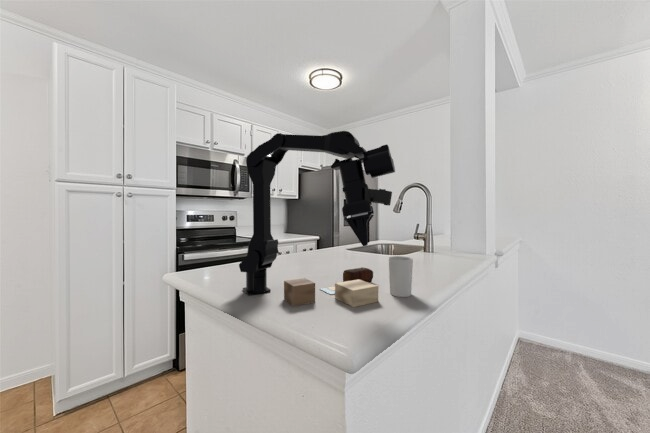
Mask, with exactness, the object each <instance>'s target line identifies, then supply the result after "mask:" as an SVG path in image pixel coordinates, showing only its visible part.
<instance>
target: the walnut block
mask: <svg viewBox="0 0 650 433" xmlns="http://www.w3.org/2000/svg"><path fill="white" fill-rule="evenodd" d="M283 299H284V301H286V302H287V303H288V304H290V305H291V306H292V307H295V306H302V305H307V304H312V303H316V283H315V282H314V281H313V280H310V279H307V278H306V277H302V278H296V279H287V280H283Z"/></svg>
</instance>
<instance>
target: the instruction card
mask: <svg viewBox="0 0 650 433" xmlns="http://www.w3.org/2000/svg"><path fill="white" fill-rule="evenodd" d="M319 290H320V291H321V292H324V293H326V294H328V295H330V296H333V295H335V285H334V286H329V287H323V288H319Z"/></svg>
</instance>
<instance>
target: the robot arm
mask: <svg viewBox="0 0 650 433" xmlns="http://www.w3.org/2000/svg"><path fill="white" fill-rule="evenodd" d="M289 151H295V152H296V151H297V152H310V153H311V152H313V153H325V154H330V155H332V156H335V157H338V158H335V160H334V161H333V163H332V164H331V165H330V168H331V170H334V171H338V170H339V172H340V177H341V183H342V193H344V197H345V198H344V199H345V202H346V203H345V204H343V206H342V208H341V212H342V217H343V218H345V219H344V220H345V221H346V223H347V224H348V226H349V227H350V228H351V230H352V232H353V233H354V235H355V237H356V238H357V239H358V241H359V242H360V244H361V246H362V247H366V246H368V245H369V243H370V223H371V220H372V219H373V218H374V216H375V215H374V214H375V213H374V208H373V205H372V204H380V205H383V206H391V201H392V195H393V191H391V190H386V189H385V188H383V189H382V188H378V189H376V188H375V189H374V188H369V184H367V182H366V178H365V175H367V176H369V175H370V177H371V179H374V178H378V177H382V176H385V175H390V174H394V173H396V168H395V164H394V159H393V158H392V153H391V151H390V147H389V145H388V144H383V145H381V146H379V147H376V148H373V149H370V150H369V149H368V150H366V149H365V148H364V147H363V146H360V142H359V140H358V139H357V138H356V137H355V135H354V134H352V133H351V132H349V131H347V130H342V131H340V130H339V131H333V132H329V133H327V134H325V135H315V134H313V135H312V134H311V135H310V134H309V135H308V134H288V133H287V134H283V133H281V132H279V133H275V134H274V135H273V136H272V137H271V138H270V139H269V140H267V141H265V142H262V143H261V144H259V145H258V146H257V147H256V148H255V149H254V150H251V152H249V154H248V155H247V156H246V159H245V162H246V163H245V164H246V170H247V174H248V177H249V178H250V180H251V182H252V213H253V214H252V219H253V220H252V221H253V222H252V228H253V229H252V230H253V233H252V236H251V237H250V238H251V239H250V240H249V243H248V245H247V253H246V256H245V257H244V258H243V260H242V261H240V263H239V264H238V267H239V270H240V272H241V273H245V275H246V276H245V280H246V282H245V287H242V290H243V292H244V293H245V294H247V295H248V296H249V295H250V296H252V295H256V294H257V295H258V294H264V293H269V292H271V289H270V288H269V287H267V285H268V284H267V281H268V280H267V274H268V273H267V271H268V270H267V269H270V268H271V267H272V265H273V262H274V261H275V260H276V259H277V256H278V254H280V252H279V248H278V247H279V246H278V245H279V240H278V239H277V238H276V239H274V237H273V236H272V232H271V231H272V230H271V229H272V228H271V226H272V225H271V217H272V216H271V215H272V214H271V208H272V207H271V184H272V181H273V179H274V178H275V176H276V167H277V166H278V165H279V164H280V163H281V162H282V160H283V159H284V157H285V155H286V153H288V152H289ZM339 158H341V159H342V160H339ZM354 158H355V159H354ZM364 171H365V172H364Z"/></svg>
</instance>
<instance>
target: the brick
mask: <svg viewBox="0 0 650 433" xmlns="http://www.w3.org/2000/svg"><path fill="white" fill-rule="evenodd" d="M373 278H374V271H373V270H372V269H370V268H368V267H356V268H349V269H345V270H343V272H342V282H345V281H352V280H358V279H359V280H362V281H365V282H368V283H372V281H373Z"/></svg>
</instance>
